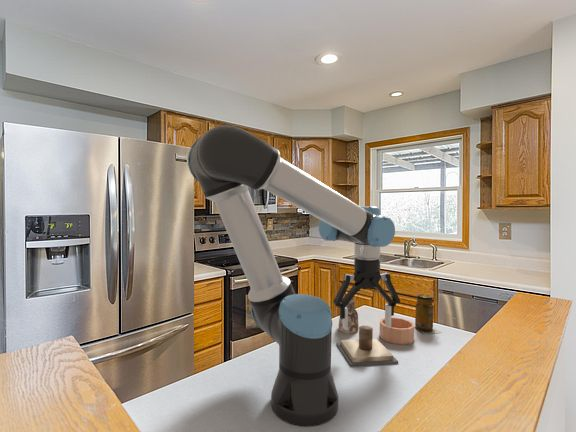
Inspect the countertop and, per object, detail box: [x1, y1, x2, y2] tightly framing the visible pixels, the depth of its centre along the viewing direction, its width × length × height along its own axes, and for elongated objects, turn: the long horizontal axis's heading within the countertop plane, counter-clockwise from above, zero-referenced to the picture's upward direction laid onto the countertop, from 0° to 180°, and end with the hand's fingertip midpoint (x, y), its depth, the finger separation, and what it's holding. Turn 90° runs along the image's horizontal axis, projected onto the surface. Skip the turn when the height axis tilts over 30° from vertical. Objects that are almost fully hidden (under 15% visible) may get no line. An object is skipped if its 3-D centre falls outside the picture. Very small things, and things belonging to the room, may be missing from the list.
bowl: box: [379, 316, 415, 346], centre depth 110 cm, size 11×11×5 cm
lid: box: [339, 325, 394, 362], centre depth 98 cm, size 12×12×7 cm
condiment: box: [414, 294, 442, 335], centre depth 117 cm, size 7×8×12 cm
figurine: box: [338, 297, 360, 334], centre depth 117 cm, size 7×7×12 cm
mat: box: [336, 342, 399, 367], centre depth 98 cm, size 14×14×1 cm
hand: (366, 327), depth 98 cm, fingers open, 13 cm apart
